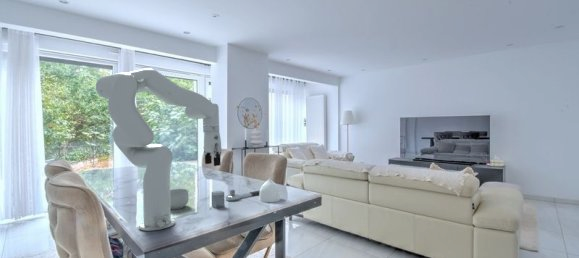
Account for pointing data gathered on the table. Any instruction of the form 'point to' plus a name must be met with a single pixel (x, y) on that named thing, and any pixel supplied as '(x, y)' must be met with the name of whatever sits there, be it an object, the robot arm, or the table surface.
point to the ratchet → (236, 197)
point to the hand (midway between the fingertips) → (212, 164)
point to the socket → (218, 199)
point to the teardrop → (269, 192)
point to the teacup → (178, 198)
